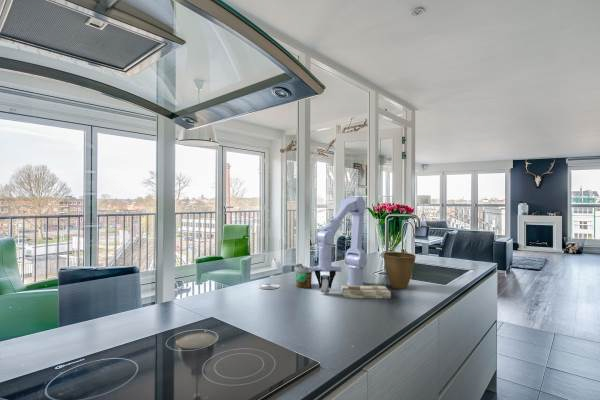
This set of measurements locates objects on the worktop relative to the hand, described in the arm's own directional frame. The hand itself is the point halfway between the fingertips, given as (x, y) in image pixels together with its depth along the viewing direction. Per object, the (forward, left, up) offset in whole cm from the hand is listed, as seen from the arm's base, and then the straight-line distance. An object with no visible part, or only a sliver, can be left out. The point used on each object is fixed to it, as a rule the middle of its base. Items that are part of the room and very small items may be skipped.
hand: (325, 287), depth 142 cm
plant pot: (-13, +37, -3) cm, 39 cm away
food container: (-12, -11, -3) cm, 17 cm away
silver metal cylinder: (0, 0, -2) cm, 2 cm away
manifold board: (0, +18, -3) cm, 18 cm away
